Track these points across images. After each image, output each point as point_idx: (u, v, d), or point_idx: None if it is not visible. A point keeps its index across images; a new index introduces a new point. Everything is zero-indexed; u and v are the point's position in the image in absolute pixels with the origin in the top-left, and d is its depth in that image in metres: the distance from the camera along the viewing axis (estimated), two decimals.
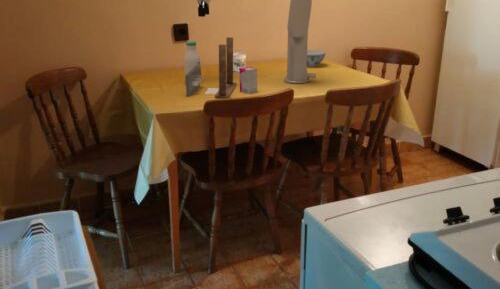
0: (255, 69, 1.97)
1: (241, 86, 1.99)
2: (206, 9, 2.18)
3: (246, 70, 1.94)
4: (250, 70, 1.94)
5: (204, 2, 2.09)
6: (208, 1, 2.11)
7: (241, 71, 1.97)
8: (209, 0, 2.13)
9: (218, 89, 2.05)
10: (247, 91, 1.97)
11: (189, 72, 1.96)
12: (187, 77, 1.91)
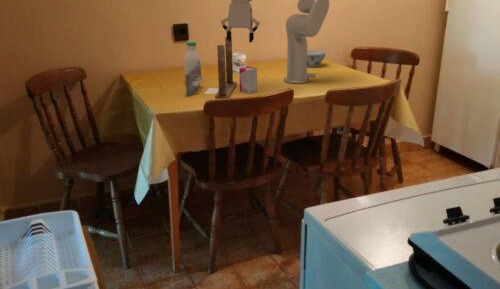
0: (255, 69, 1.97)
1: (241, 86, 1.99)
2: (230, 35, 1.97)
3: (246, 70, 1.94)
4: (250, 70, 1.94)
5: None
6: None
7: (241, 71, 1.97)
8: None
9: (218, 89, 2.05)
10: (247, 91, 1.97)
11: (189, 72, 1.96)
12: (187, 77, 1.91)
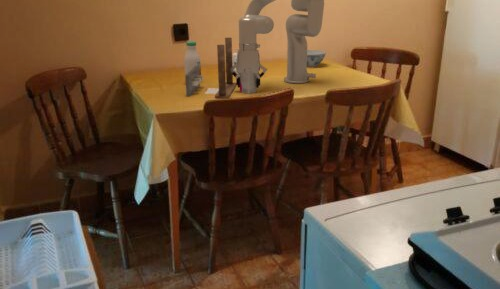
0: None
1: (241, 86, 1.99)
2: (239, 81, 2.00)
3: (246, 70, 1.94)
4: (250, 70, 1.94)
5: None
6: None
7: None
8: None
9: (218, 89, 2.05)
10: (247, 91, 1.97)
11: (189, 72, 1.96)
12: (187, 77, 1.91)
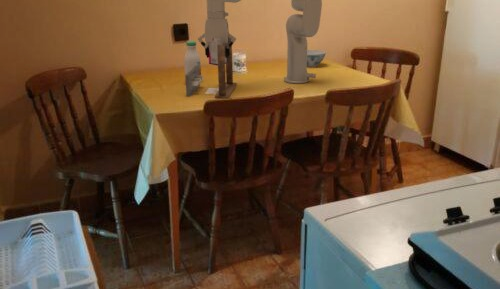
0: None
1: (210, 56, 1.95)
2: None
3: (214, 39, 1.91)
4: (218, 39, 1.91)
5: None
6: None
7: None
8: None
9: (218, 89, 2.05)
10: (216, 61, 1.94)
11: (189, 72, 1.96)
12: (187, 77, 1.91)
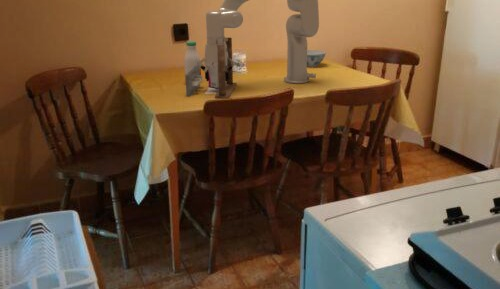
0: None
1: (210, 80, 1.99)
2: None
3: (214, 64, 1.95)
4: None
5: (225, 65, 1.99)
6: None
7: None
8: None
9: (218, 89, 2.05)
10: (215, 85, 1.98)
11: (189, 72, 1.96)
12: (187, 77, 1.91)
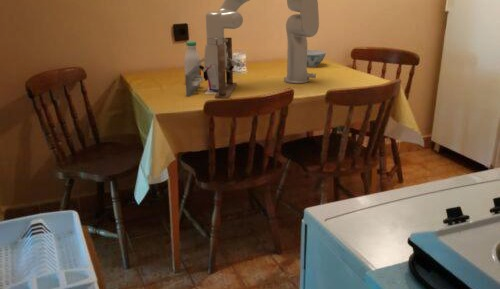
0: None
1: (209, 82, 2.00)
2: None
3: (212, 66, 1.95)
4: (216, 65, 1.95)
5: None
6: None
7: None
8: None
9: None
10: (216, 87, 1.98)
11: (189, 72, 1.96)
12: (187, 77, 1.91)
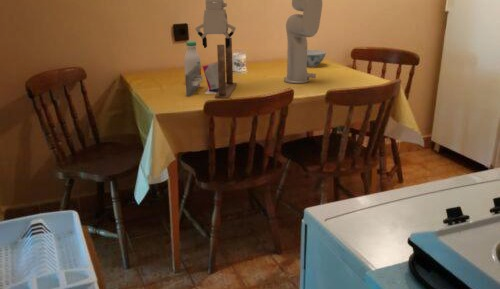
0: (217, 63, 1.98)
1: (209, 83, 2.00)
2: (206, 41, 1.95)
3: (208, 66, 1.96)
4: (212, 65, 1.96)
5: None
6: None
7: (205, 68, 1.99)
8: None
9: None
10: (215, 86, 1.98)
11: (189, 72, 1.96)
12: (187, 77, 1.91)
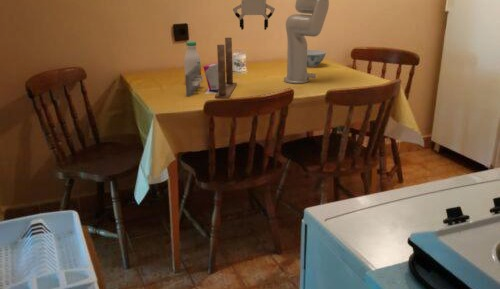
0: None
1: (209, 83, 2.00)
2: (243, 23, 1.88)
3: (209, 66, 1.96)
4: (213, 66, 1.96)
5: None
6: None
7: (205, 69, 1.98)
8: None
9: None
10: (215, 87, 1.98)
11: (189, 72, 1.96)
12: (187, 77, 1.91)
